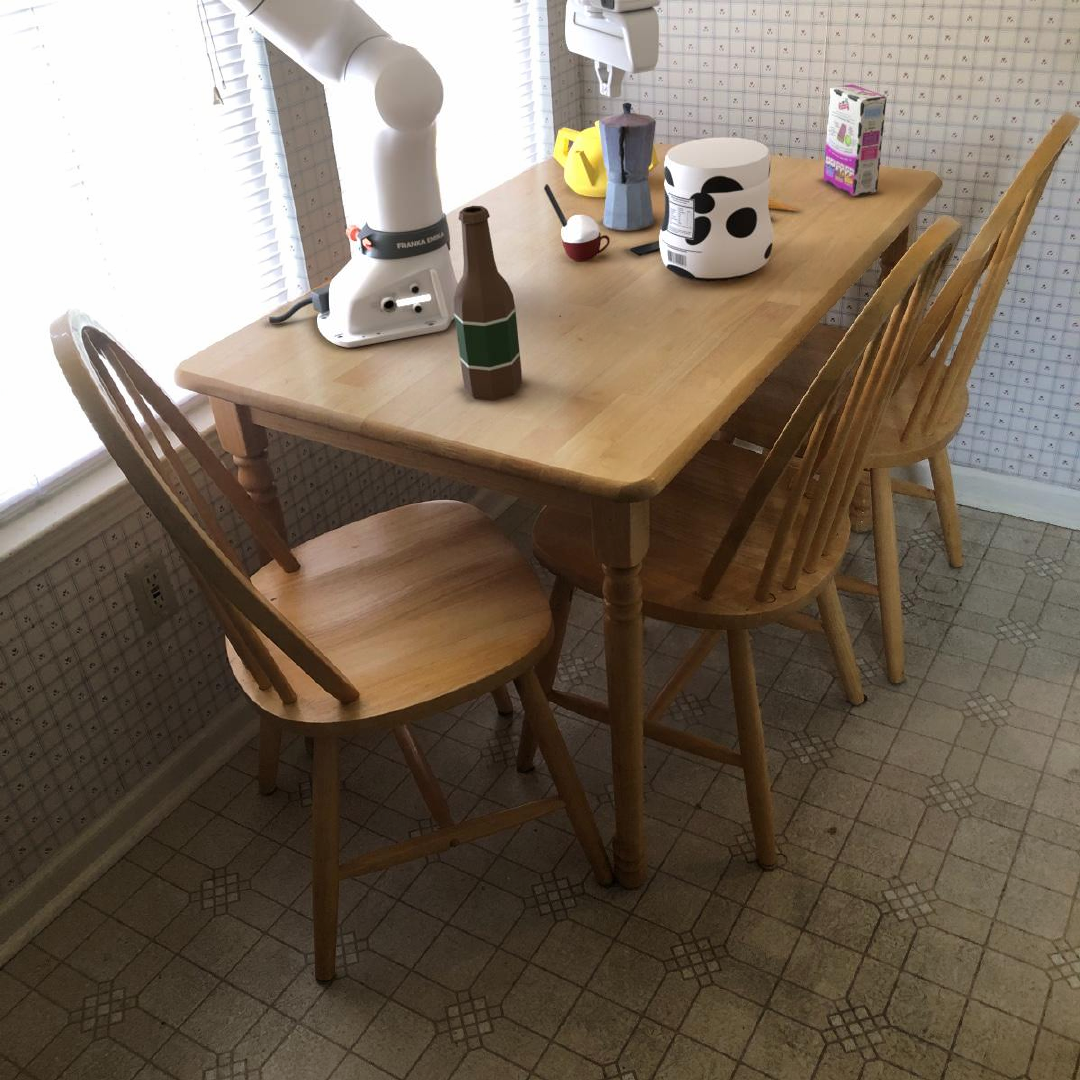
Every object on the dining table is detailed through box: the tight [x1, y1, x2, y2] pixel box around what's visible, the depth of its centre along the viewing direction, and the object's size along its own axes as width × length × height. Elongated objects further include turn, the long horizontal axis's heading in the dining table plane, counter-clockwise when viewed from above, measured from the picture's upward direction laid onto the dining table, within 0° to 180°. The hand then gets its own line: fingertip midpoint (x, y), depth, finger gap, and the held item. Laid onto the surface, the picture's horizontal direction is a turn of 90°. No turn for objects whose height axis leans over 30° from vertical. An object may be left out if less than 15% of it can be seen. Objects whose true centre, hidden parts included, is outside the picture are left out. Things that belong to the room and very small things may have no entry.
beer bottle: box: [454, 205, 523, 402], centre depth 141 cm, size 8×8×24 cm
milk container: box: [658, 136, 774, 282], centre depth 170 cm, size 17×17×18 cm
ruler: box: [629, 217, 772, 257], centre depth 187 cm, size 26×3×1 cm, turn 116°
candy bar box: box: [822, 84, 888, 197], centre depth 196 cm, size 11×5×16 cm, turn 17°
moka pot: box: [598, 102, 657, 232], centre depth 188 cm, size 10×15×20 cm, turn 174°
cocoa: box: [543, 183, 611, 262], centre depth 180 cm, size 10×6×12 cm, turn 55°
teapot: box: [552, 119, 660, 198], centre depth 209 cm, size 17×17×12 cm
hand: (610, 95), depth 156 cm, fingers closed
